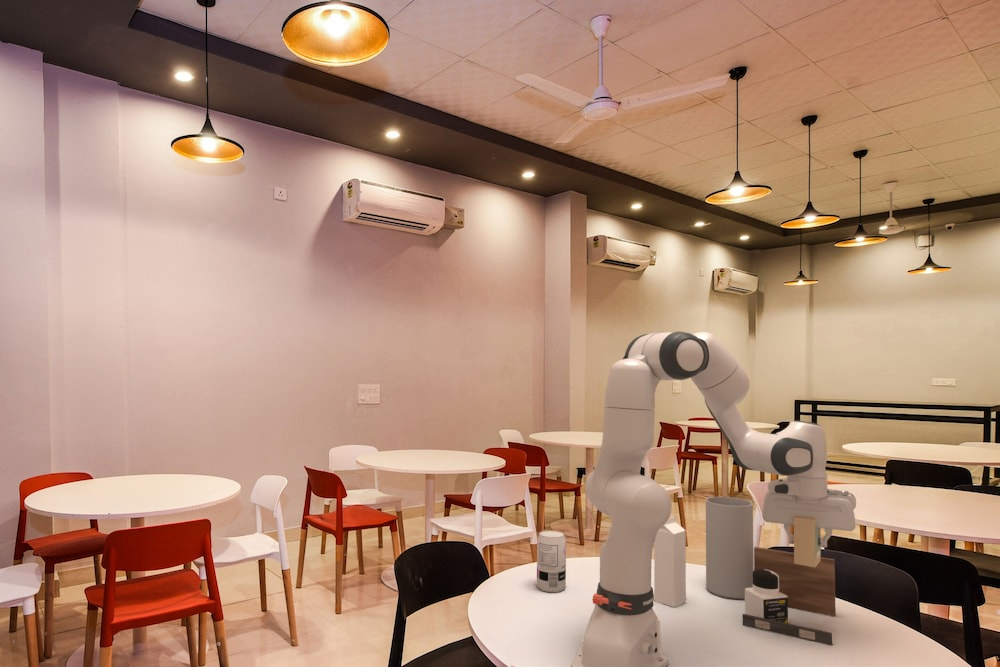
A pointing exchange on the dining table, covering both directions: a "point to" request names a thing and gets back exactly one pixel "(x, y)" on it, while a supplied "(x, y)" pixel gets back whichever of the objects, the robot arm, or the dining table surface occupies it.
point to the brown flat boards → (798, 592)
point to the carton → (806, 542)
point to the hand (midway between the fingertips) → (807, 544)
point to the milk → (670, 564)
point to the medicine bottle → (766, 597)
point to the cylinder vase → (729, 546)
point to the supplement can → (551, 561)
